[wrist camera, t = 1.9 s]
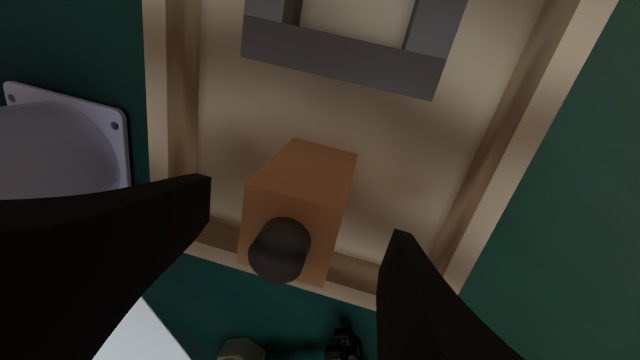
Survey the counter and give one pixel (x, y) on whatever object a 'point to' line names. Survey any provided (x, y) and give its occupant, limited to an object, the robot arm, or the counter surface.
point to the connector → (295, 212)
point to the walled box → (364, 111)
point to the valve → (245, 356)
